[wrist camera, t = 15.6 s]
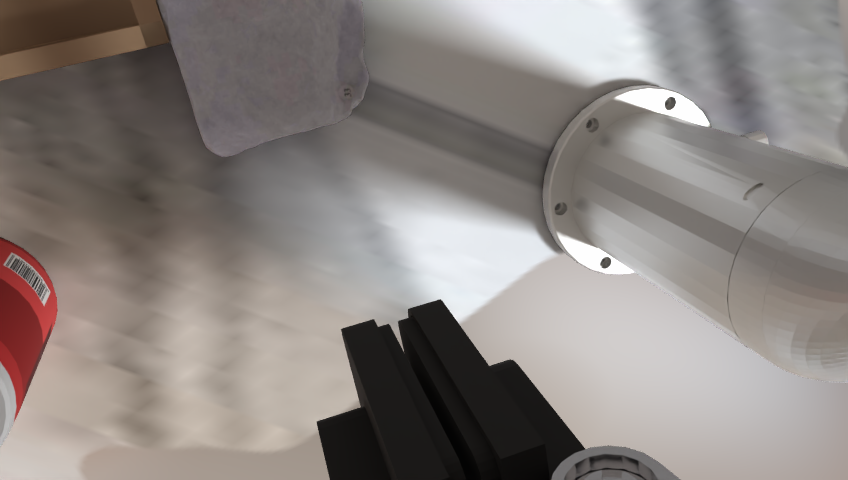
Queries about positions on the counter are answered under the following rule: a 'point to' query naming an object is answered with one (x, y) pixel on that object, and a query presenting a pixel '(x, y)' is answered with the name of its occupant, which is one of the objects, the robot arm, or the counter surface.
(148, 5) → the tray
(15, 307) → the canned food
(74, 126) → the counter surface
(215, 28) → the stone block
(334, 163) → the counter surface
